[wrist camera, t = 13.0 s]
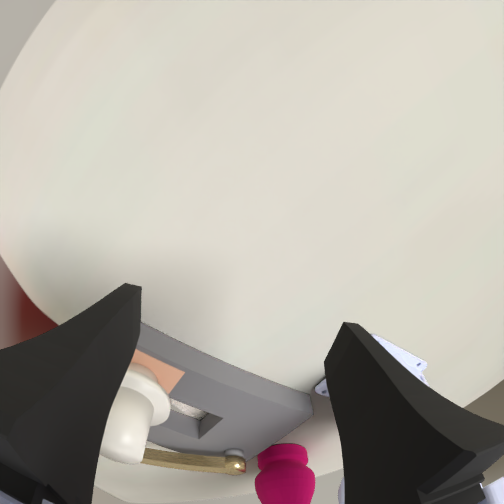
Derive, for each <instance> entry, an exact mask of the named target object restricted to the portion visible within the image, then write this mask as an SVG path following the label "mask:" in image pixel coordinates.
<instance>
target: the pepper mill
mask: <svg viewBox="0 0 504 504" xmlns="http://www.w3.org/2000/svg"><path fill="white" fill-rule="evenodd" d="M307 463H308V457H307V451H306V449H305V448H304V447H302V446H300V445H297V444H278V445H273V446H270V447H268V448H267V449H265V450H264V451H262V452H261V453H259V454H258V467H259V469H260V470H262V471H261V472H260V473H259V474H258V475H257V476H256V478H255V489H256V492H257V495H258V498H259V499H260V501H261V503H262V504H310V502H311V499H312V496H313V493H314V489H315V475H314V473H313V471H312V470H311V469H310V468H308V467H307V466H306V465H307Z"/></svg>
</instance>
